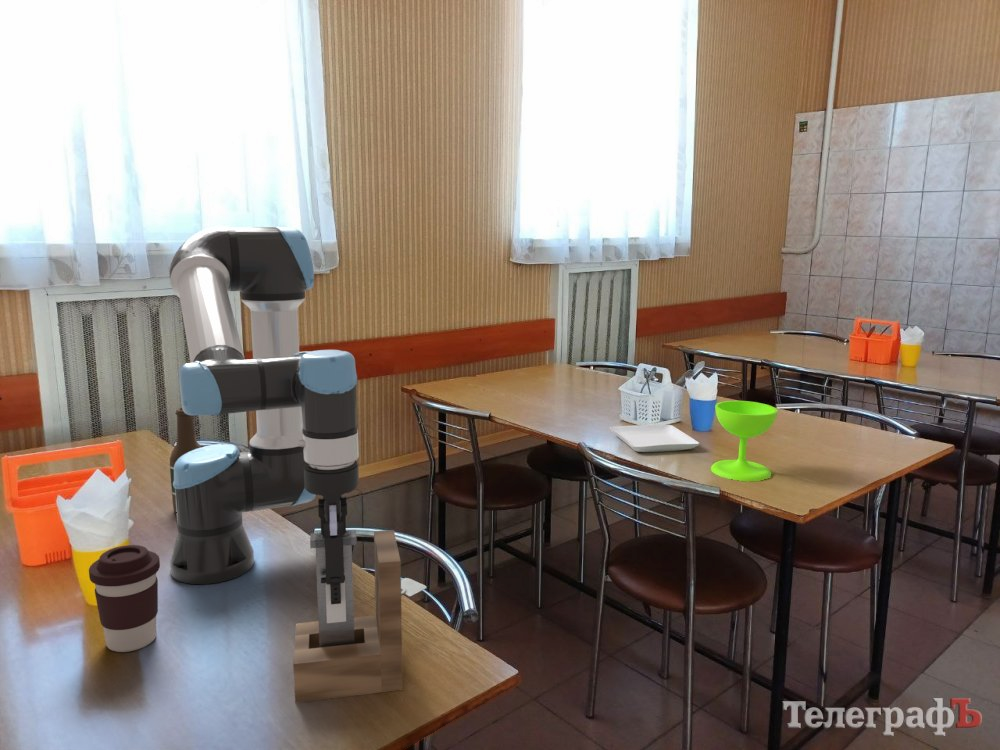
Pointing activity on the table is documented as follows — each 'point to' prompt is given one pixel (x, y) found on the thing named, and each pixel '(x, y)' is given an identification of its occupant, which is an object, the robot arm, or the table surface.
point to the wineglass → (743, 437)
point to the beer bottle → (182, 443)
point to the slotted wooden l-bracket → (357, 641)
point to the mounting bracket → (411, 587)
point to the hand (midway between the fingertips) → (336, 615)
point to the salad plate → (654, 438)
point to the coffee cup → (127, 596)
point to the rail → (327, 631)
